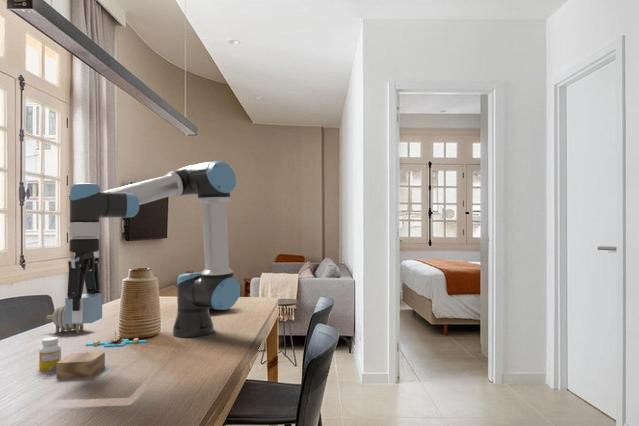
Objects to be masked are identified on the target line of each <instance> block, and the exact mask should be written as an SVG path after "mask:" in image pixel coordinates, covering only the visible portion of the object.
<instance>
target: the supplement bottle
mask: <svg viewBox="0 0 639 426" xmlns="http://www.w3.org/2000/svg"><path fill="white" fill-rule="evenodd" d="M41 343H42V346H41V347H40V348H39V351H38V352H39V355H38V359H39V363H38V364H39V366H38V367H39V370H40V371H52V370H53V371H54V370H57V362H59V361H60V360H62V347H61V345H60V344H59V337H57V336H51V337H44V338H42V341H41Z"/></svg>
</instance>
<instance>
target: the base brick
mask: <svg viewBox="0 0 639 426" xmlns="http://www.w3.org/2000/svg"><path fill="white" fill-rule="evenodd" d="M105 354H106V352H105V351H103V352H102V351H101V352H100V351H99V352H73V353H71V354H68V355H67V356H66V357H64V358H61V360H60V361H59V362H57V369H56V370H57V378H62V379H69V378H68V377H91V376H93V375H94V374H95V373H97V372H98V371H99V370H101V369H102V368H103V367H105V366H106V356H105Z"/></svg>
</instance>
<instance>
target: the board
mask: <svg viewBox="0 0 639 426" xmlns="http://www.w3.org/2000/svg"><path fill="white" fill-rule="evenodd" d="M118 366H119V365H105V367H103V368H102V369H101V370H99V371H98V372H97V373H95V374H94V375H93V376H91V377H68V378H67V379H86V378H88V379H89V378H93V379H94V378H104V377H106V375H108V374H109V373H110V372H112V371H113V370H114V369H116V368H117V367H118ZM52 379H53V380H54V379H58V380H59V379H63V378H57V369H54V370H53V371H52V372H51V373H49V374H47V375H46V376H44V377H43V378H42V380H52Z"/></svg>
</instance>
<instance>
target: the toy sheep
mask: <svg viewBox="0 0 639 426" xmlns="http://www.w3.org/2000/svg"><path fill="white" fill-rule="evenodd" d="M45 318H46V319H47V320H51V321H52V323H53V324H54V326H55V334H59V333H60V331H61V332H64V331H67V332H71V331H75V333H76V334H79V333H80V331H84V323H76V324H65V304H63V305H59V306H57V307H56V308H55V310H53V313H52V314H50V315H49V314H47V315H46V317H45Z"/></svg>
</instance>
